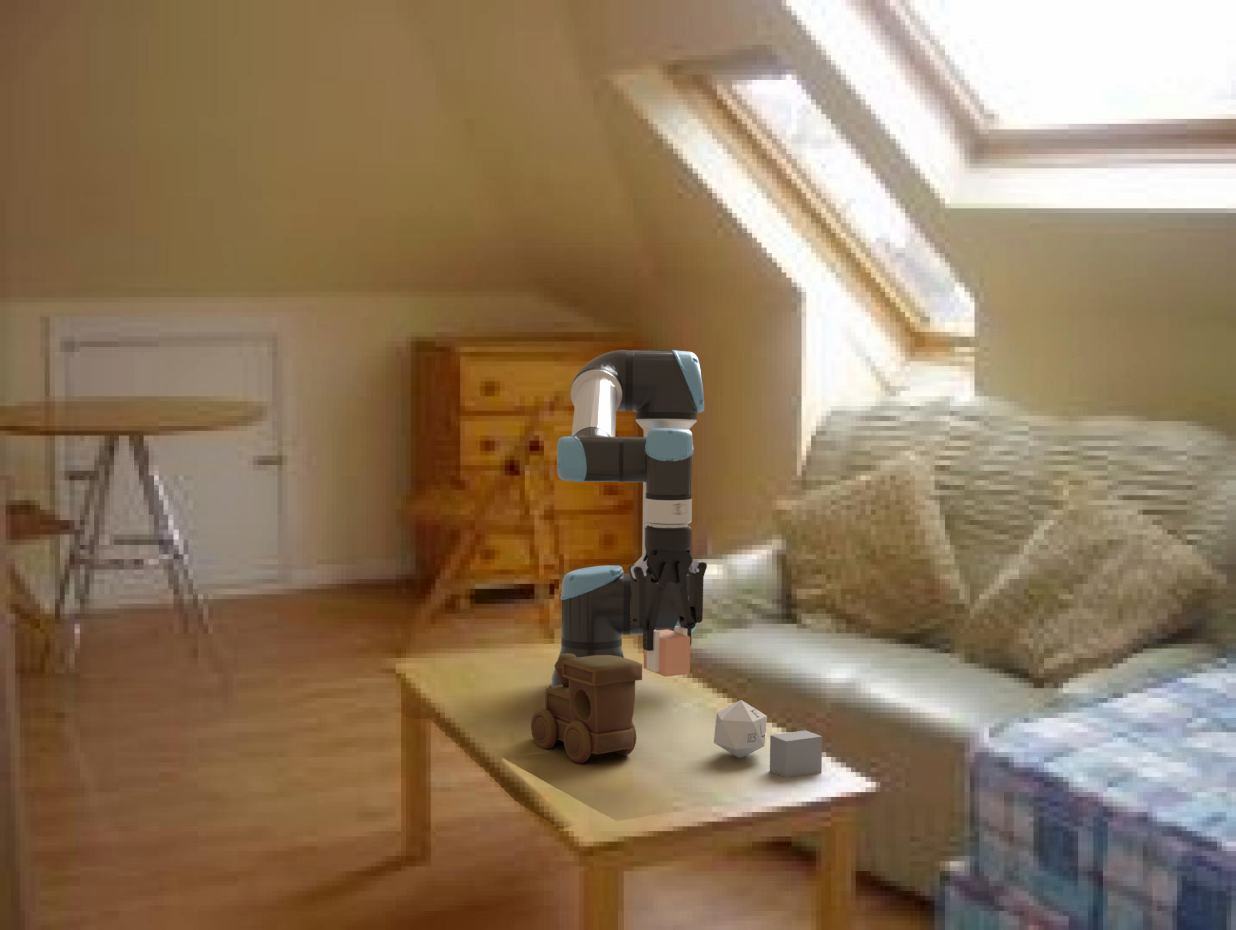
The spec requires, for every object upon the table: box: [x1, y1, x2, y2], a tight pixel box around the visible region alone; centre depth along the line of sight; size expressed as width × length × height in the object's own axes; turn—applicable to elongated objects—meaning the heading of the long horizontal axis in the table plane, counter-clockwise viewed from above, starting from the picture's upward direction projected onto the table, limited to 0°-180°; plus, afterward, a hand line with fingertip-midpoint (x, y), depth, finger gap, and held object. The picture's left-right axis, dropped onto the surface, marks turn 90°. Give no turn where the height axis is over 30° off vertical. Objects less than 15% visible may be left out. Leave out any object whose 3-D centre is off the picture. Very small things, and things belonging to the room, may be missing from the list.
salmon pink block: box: [643, 629, 691, 677], centre depth 242 cm, size 7×4×6 cm, turn 29°
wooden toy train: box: [530, 653, 643, 764], centre depth 254 cm, size 20×11×17 cm, turn 35°
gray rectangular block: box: [769, 729, 823, 779], centre depth 243 cm, size 4×7×6 cm, turn 119°
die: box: [713, 699, 768, 759], centre depth 251 cm, size 8×9×10 cm
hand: (666, 668), depth 243 cm, fingers closed on salmon pink block, 4 cm apart
